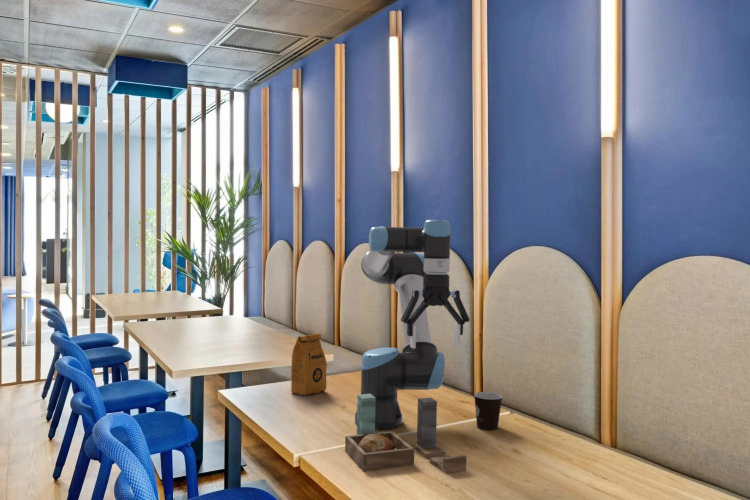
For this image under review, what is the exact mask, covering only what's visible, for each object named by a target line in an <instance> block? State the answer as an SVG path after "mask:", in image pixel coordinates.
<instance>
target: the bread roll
mask: <svg viewBox="0 0 750 500" xmlns="http://www.w3.org/2000/svg"><path fill="white" fill-rule="evenodd" d="M359 446H360V447H361V448H362V449H363V450H364V451H365V453H370V452H379V451H388V450H395V446H394V445H393V443H392V442H391V441H390V440H389V439H388V438H387V437H384V436H383V435H379V434H369V435H367V436H365V437H364V438H363V439H362V440H361V442H360V443H359Z"/></svg>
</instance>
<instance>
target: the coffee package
mask: <svg viewBox="0 0 750 500" xmlns="http://www.w3.org/2000/svg"><path fill="white" fill-rule="evenodd" d="M321 338H322V335H321V333H319V332H318V333H313V334H308V335H307V334H306V335H300V336H299V335H298V336H297V338H296V341H295V344H294V346H293V349H292V354H291V368H290V369H291V370H290V371H291V373H290V375H291V379H290V381H291V387H290V388H291V389H290V392H291V393H292V394H297V393H299V395H301V396H307V394H309V395H313V394H312V393H314V394H319V393H322V392H321V391H324V392H325V391H326V390H327V358H326V356H325V352H324V349H323V348H322V343H321V340H320V339H321ZM318 392H319V393H318Z"/></svg>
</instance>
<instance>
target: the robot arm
mask: <svg viewBox="0 0 750 500" xmlns="http://www.w3.org/2000/svg"><path fill="white" fill-rule="evenodd" d="M451 234H452V231H451V223H450V221H449V220H445V219H426V220H425V221H424V225H423V227H406V226H405V227H404V226H403V227H401V226H383V225H382V226H373V227H371V228H370V229H369V234H368V247H369V251H367V252H366V253H365V254H364V255H363V257H362V259H361V262H360V266H361V271H362V273H363V275H364V276H365V277H366V278H367V279H369V280H371V281H372V282H374V283H377V284H381V285H393V286H394V290H395V291H396V292H397V293H398V294H399V301H400V302H399V303H400V309H401V318H400V321H401V323H402V326H403V335H404V342H405V343H404V344H405V346H404V347H403V348H402V350H401V352H399V349H398V348H396V347H388V346H387V347H379V348H374V349H370V350H368V351H365V352H364V353H363V354H362V357H361V366H360V370H361V375H360V376H361V377H360V378H361V379H360V380H361V381H360V395H362V394H372V395H373V396H374V397H376V399H375V430H381V431H382V430H390V429H391V430H392V429H396V428H398V427H400V426H402V425H403V413H402V411H401V407H400V404H399V399H398V391H401V390H402V391H404V390H405V391H407V390H408V391H409V390H410V391H411V390H412V391H416V390H417V391H418V390H420V391H429V390H438V389H439V388H441V387H442V385H443V381H444V376H445V368H446V365H445V364H446V359H445V354H444V353H443V352H441V351H438V348H437V345H436V344H435V343H434V342H432V337H431V332H430V324H429V318H428V312H427V308H428V307H429V306H430V307H436V306H439V307H444V308H445V309H446V310H447V311H448V313H449V314H450V315H451V317H452V318H453V319H454V321H455V323H453V326H454V327H453V330H454V331H453V332H454V333H453V347H456V348H460V347H461V336H462V335H463V334H464V325H465V324H466V323H469V322H470V317H469V315H468V313H467V310H466V308H465V306H464V303H463V302H462V301H463V300H462V299H461V293H460V290H459V289H458V290H457V289H453V290H450V275H449V274H448V273H450V267H451V265H450V264H451V261H450V257H451V256H450V255H451ZM449 297H451V298H453V301H454V304H455V305H456V306H455V307H456V308H457V311H458V312H457V311H456V309H455V308H454V307H453V306H452V303H451V302H450V301H449ZM354 423H355V425H357V410H356V411H355V413H354Z"/></svg>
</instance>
